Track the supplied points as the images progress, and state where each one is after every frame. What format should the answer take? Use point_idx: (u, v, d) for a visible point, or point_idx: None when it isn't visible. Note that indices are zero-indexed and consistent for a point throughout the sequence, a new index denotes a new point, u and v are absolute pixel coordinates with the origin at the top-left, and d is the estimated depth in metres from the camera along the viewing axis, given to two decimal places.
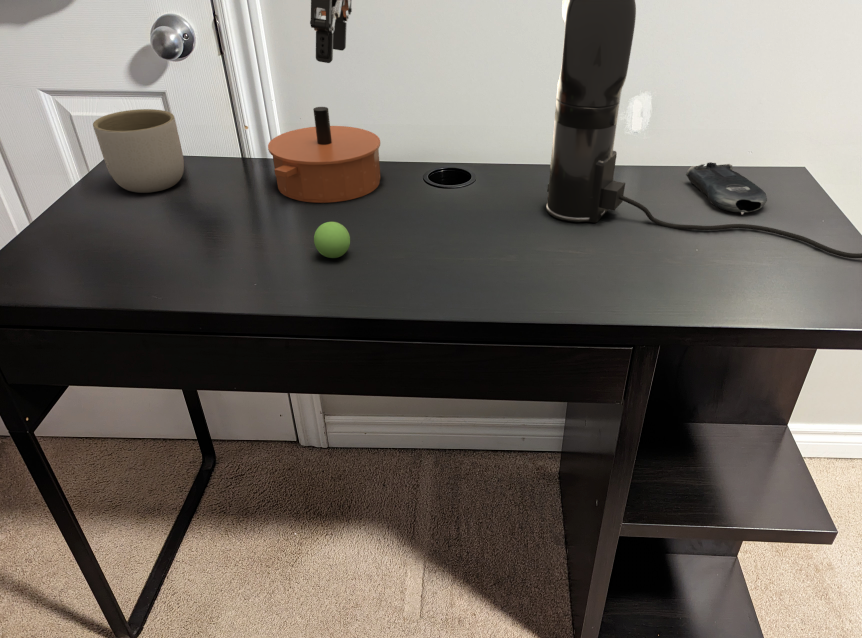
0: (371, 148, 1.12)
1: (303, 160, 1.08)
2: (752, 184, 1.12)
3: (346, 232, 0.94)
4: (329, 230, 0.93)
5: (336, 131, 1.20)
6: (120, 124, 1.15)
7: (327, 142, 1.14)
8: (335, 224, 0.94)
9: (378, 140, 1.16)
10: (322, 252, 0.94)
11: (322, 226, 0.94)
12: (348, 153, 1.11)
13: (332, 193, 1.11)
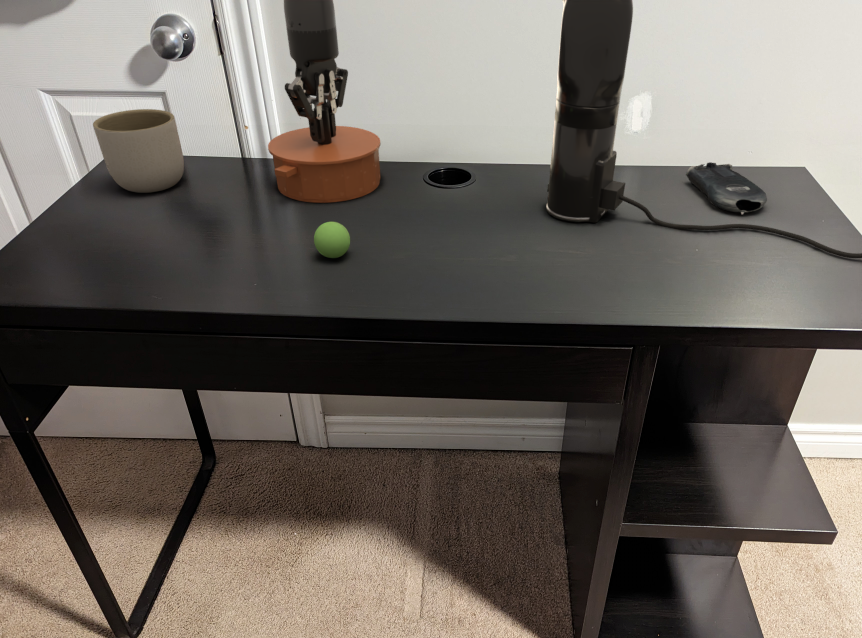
0: (371, 148, 1.12)
1: (303, 160, 1.08)
2: (752, 184, 1.12)
3: (346, 232, 0.94)
4: (329, 230, 0.93)
5: (336, 131, 1.20)
6: (120, 124, 1.15)
7: (327, 142, 1.14)
8: (335, 224, 0.94)
9: (378, 140, 1.16)
10: (322, 252, 0.94)
11: (322, 226, 0.94)
12: (348, 153, 1.11)
13: (332, 193, 1.11)
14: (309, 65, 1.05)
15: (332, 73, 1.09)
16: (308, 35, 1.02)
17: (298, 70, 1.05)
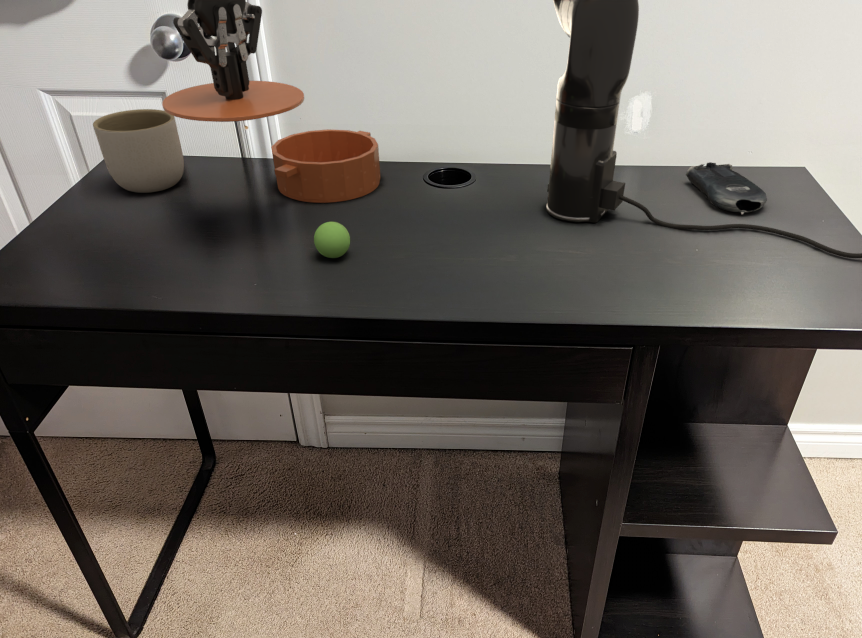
0: (290, 104, 0.91)
1: (200, 116, 0.86)
2: (752, 184, 1.12)
3: (346, 232, 0.94)
4: (329, 230, 0.93)
5: (253, 86, 0.98)
6: (120, 124, 1.15)
7: (236, 96, 0.92)
8: (335, 224, 0.94)
9: (301, 95, 0.94)
10: (322, 252, 0.94)
11: (322, 226, 0.94)
12: (260, 108, 0.89)
13: (332, 193, 1.11)
14: None
15: (238, 8, 0.87)
16: None
17: (191, 1, 0.83)
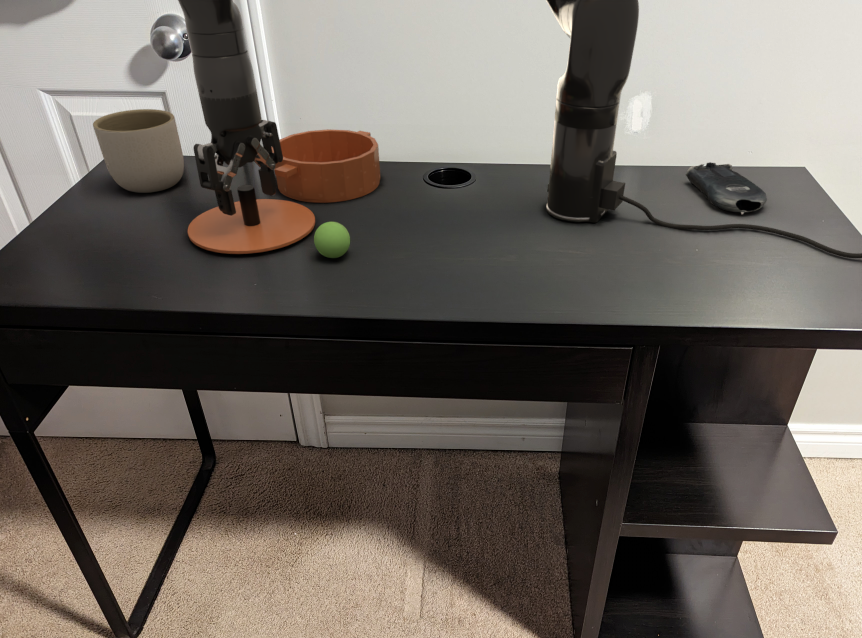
0: (303, 231, 1.01)
1: (223, 249, 0.96)
2: (752, 184, 1.12)
3: (346, 232, 0.94)
4: (329, 230, 0.93)
5: (268, 206, 1.08)
6: (120, 124, 1.15)
7: (254, 223, 1.02)
8: (335, 224, 0.94)
9: (313, 219, 1.04)
10: (322, 252, 0.94)
11: (322, 226, 0.94)
12: (276, 238, 0.99)
13: (332, 193, 1.11)
14: (226, 135, 0.92)
15: (255, 140, 0.96)
16: (222, 103, 0.89)
17: (214, 140, 0.93)
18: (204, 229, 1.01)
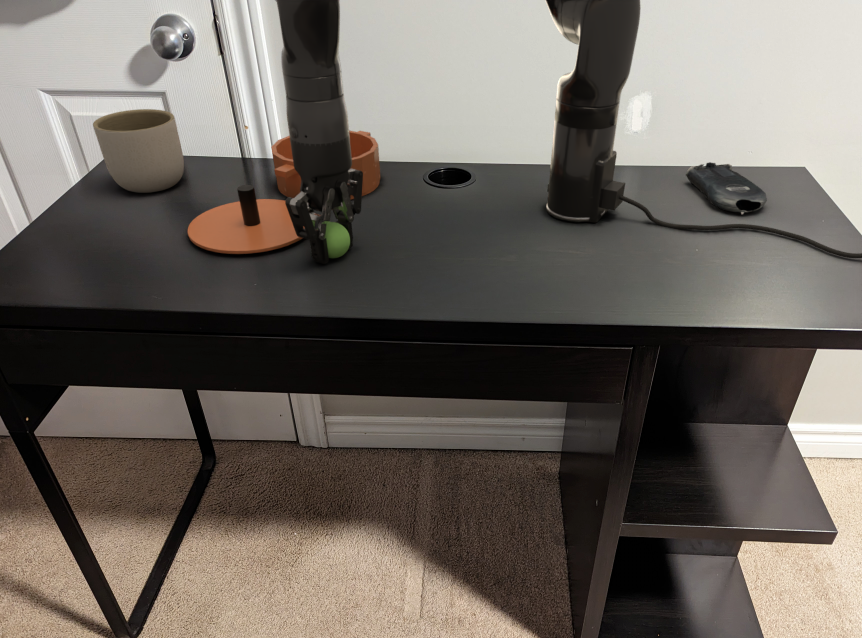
0: None
1: (223, 249, 0.96)
2: (752, 184, 1.12)
3: (346, 232, 0.94)
4: (329, 230, 0.93)
5: (268, 206, 1.08)
6: (120, 124, 1.15)
7: (254, 223, 1.02)
8: (335, 224, 0.94)
9: None
10: None
11: None
12: (276, 238, 0.99)
13: None
14: (317, 180, 0.87)
15: (344, 185, 0.91)
16: (316, 148, 0.84)
17: (304, 186, 0.87)
18: (204, 229, 1.01)
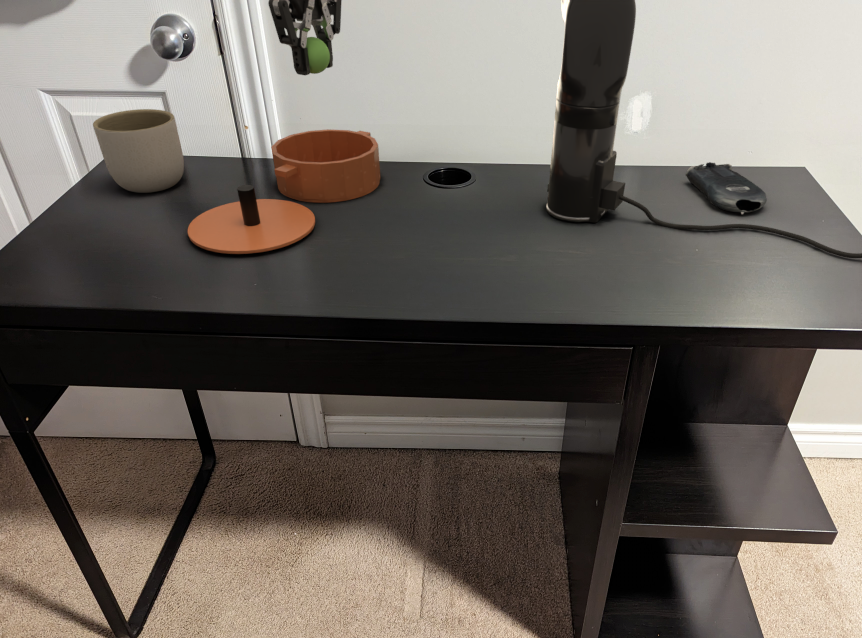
0: (303, 231, 1.01)
1: (223, 249, 0.96)
2: (752, 184, 1.12)
3: (326, 46, 1.02)
4: (310, 42, 1.00)
5: (268, 206, 1.08)
6: (120, 124, 1.15)
7: (254, 223, 1.02)
8: (315, 38, 1.01)
9: (313, 219, 1.04)
10: None
11: None
12: (276, 238, 0.99)
13: (332, 193, 1.11)
14: None
15: None
16: None
17: None
18: (204, 229, 1.01)
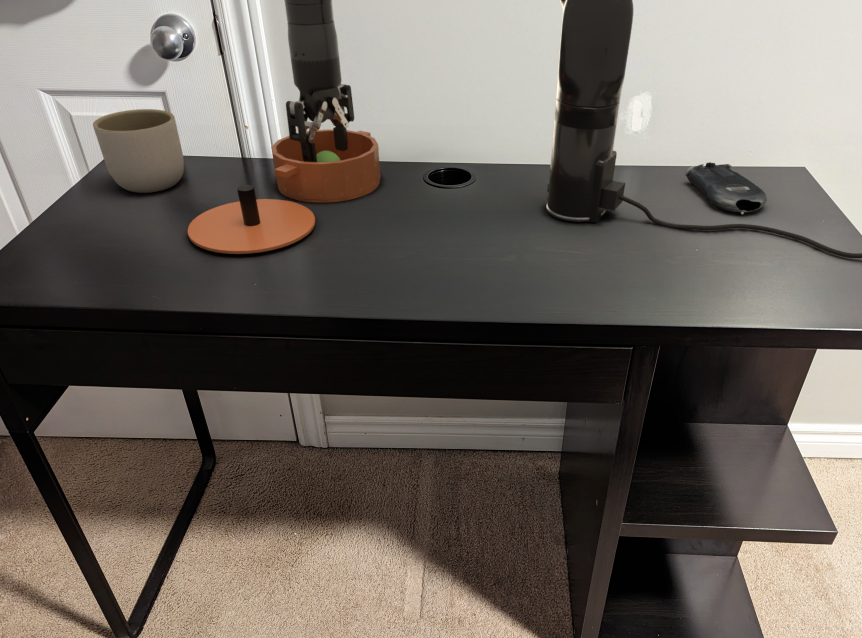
0: (303, 231, 1.01)
1: (223, 249, 0.96)
2: (752, 184, 1.12)
3: (338, 159, 1.16)
4: (325, 156, 1.15)
5: (268, 206, 1.08)
6: (120, 124, 1.15)
7: (254, 223, 1.02)
8: (329, 152, 1.16)
9: (313, 219, 1.04)
10: None
11: (319, 154, 1.16)
12: (276, 238, 0.99)
13: (332, 193, 1.11)
14: (312, 93, 1.07)
15: (335, 99, 1.11)
16: (312, 65, 1.04)
17: (302, 98, 1.08)
18: (204, 229, 1.01)
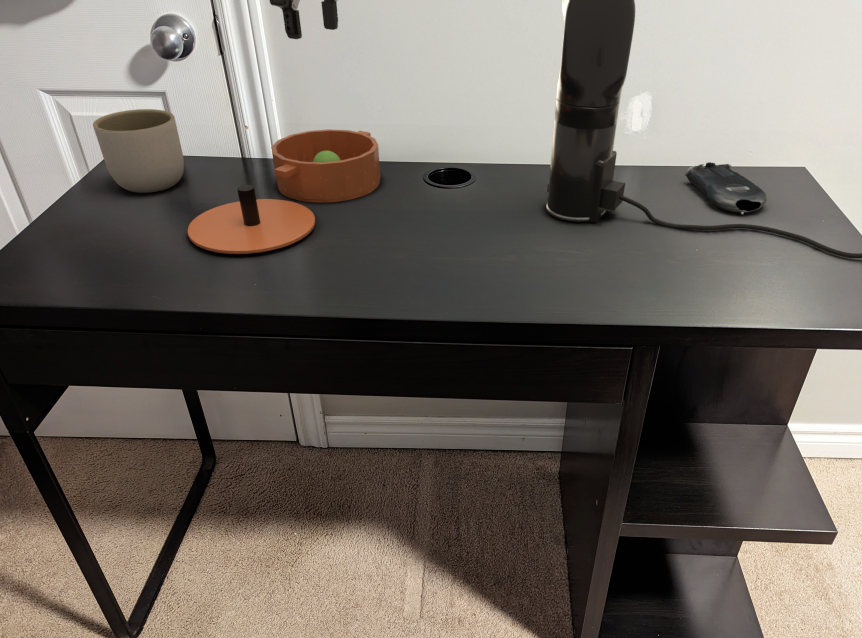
0: (303, 231, 1.01)
1: (223, 249, 0.96)
2: (751, 184, 1.12)
3: (339, 159, 1.16)
4: (325, 156, 1.15)
5: (268, 206, 1.08)
6: (120, 124, 1.15)
7: (254, 223, 1.02)
8: (330, 152, 1.16)
9: (313, 219, 1.04)
10: None
11: (319, 153, 1.16)
12: (276, 238, 0.99)
13: (332, 193, 1.11)
14: None
15: None
16: None
17: None
18: (204, 229, 1.01)
